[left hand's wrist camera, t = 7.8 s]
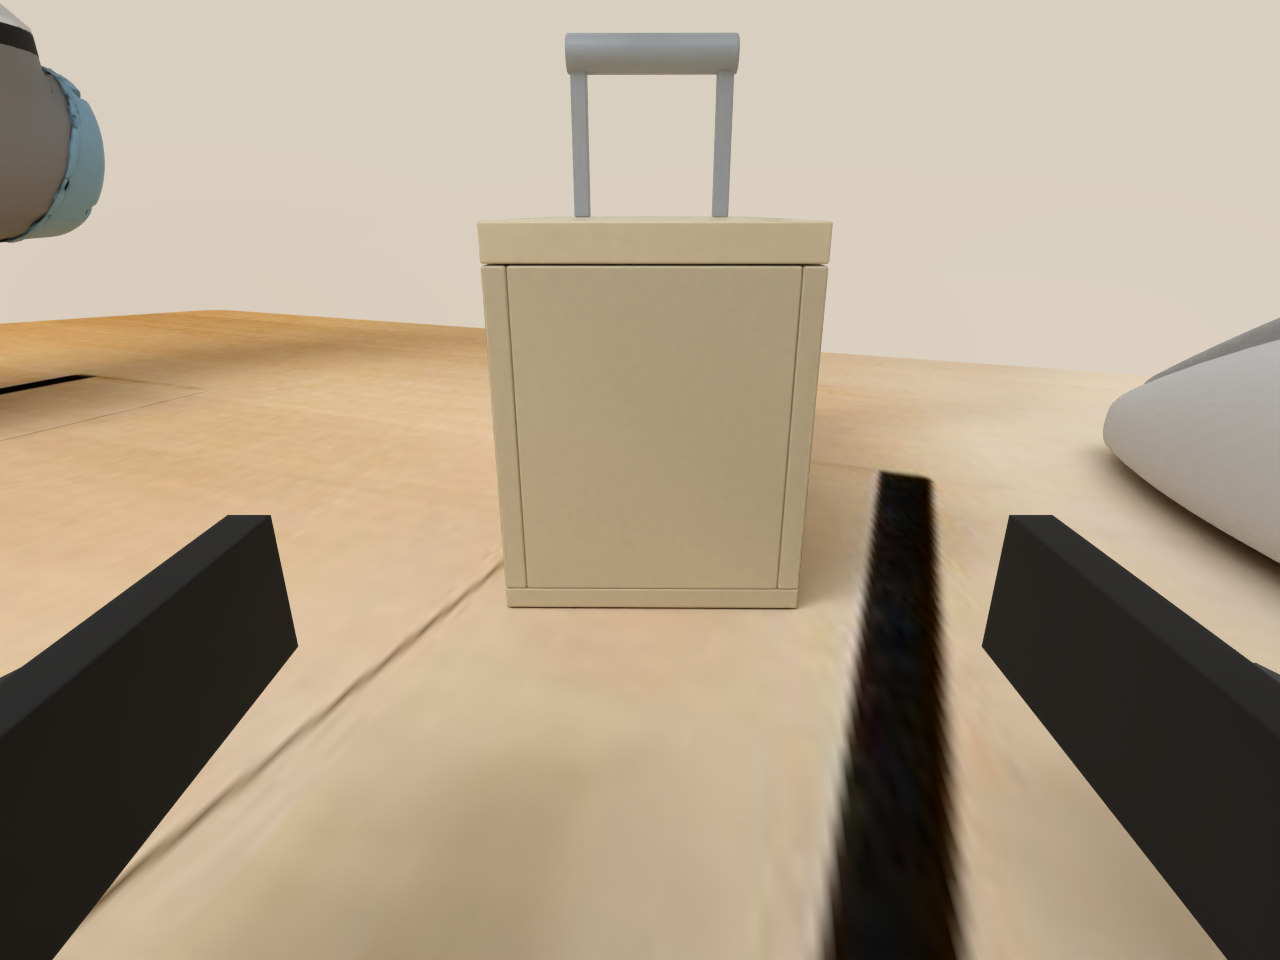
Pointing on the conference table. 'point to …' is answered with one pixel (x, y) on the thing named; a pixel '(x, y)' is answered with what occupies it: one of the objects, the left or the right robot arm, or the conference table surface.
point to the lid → (653, 235)
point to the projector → (1212, 435)
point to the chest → (653, 430)
